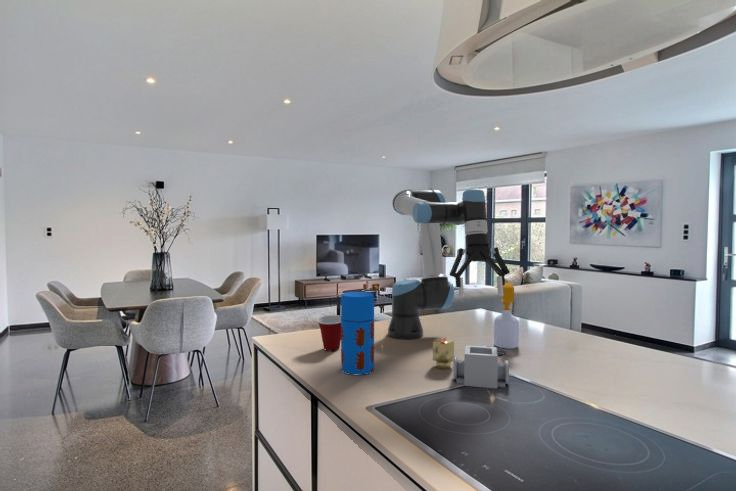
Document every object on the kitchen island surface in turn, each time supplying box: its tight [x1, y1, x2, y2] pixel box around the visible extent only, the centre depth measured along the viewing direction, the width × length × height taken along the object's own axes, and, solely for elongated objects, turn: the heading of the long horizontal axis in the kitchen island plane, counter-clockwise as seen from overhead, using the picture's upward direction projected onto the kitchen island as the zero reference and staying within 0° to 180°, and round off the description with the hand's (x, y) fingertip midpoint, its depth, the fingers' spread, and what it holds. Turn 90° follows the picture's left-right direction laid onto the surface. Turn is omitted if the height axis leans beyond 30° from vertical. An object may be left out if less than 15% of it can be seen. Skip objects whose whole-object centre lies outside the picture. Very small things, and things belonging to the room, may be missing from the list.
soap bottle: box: [493, 282, 520, 350], centre depth 169 cm, size 9×9×25 cm
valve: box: [432, 337, 455, 370], centre depth 145 cm, size 7×7×9 cm
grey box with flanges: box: [452, 344, 510, 389], centre depth 131 cm, size 16×9×10 cm, turn 76°
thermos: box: [340, 291, 375, 375], centre depth 141 cm, size 11×11×25 cm
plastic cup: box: [316, 314, 341, 351], centre depth 165 cm, size 11×11×12 cm
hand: (481, 296), depth 146 cm, fingers open, 13 cm apart
